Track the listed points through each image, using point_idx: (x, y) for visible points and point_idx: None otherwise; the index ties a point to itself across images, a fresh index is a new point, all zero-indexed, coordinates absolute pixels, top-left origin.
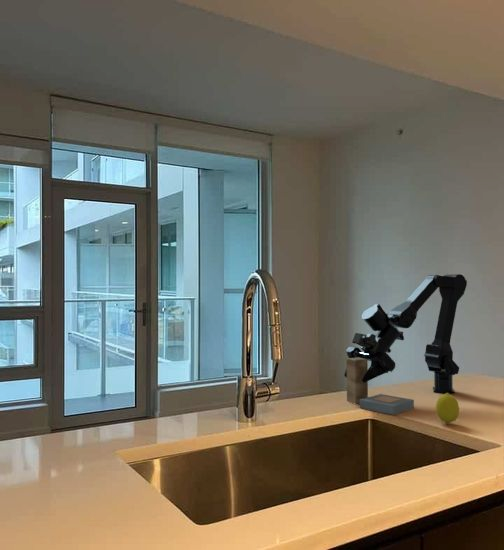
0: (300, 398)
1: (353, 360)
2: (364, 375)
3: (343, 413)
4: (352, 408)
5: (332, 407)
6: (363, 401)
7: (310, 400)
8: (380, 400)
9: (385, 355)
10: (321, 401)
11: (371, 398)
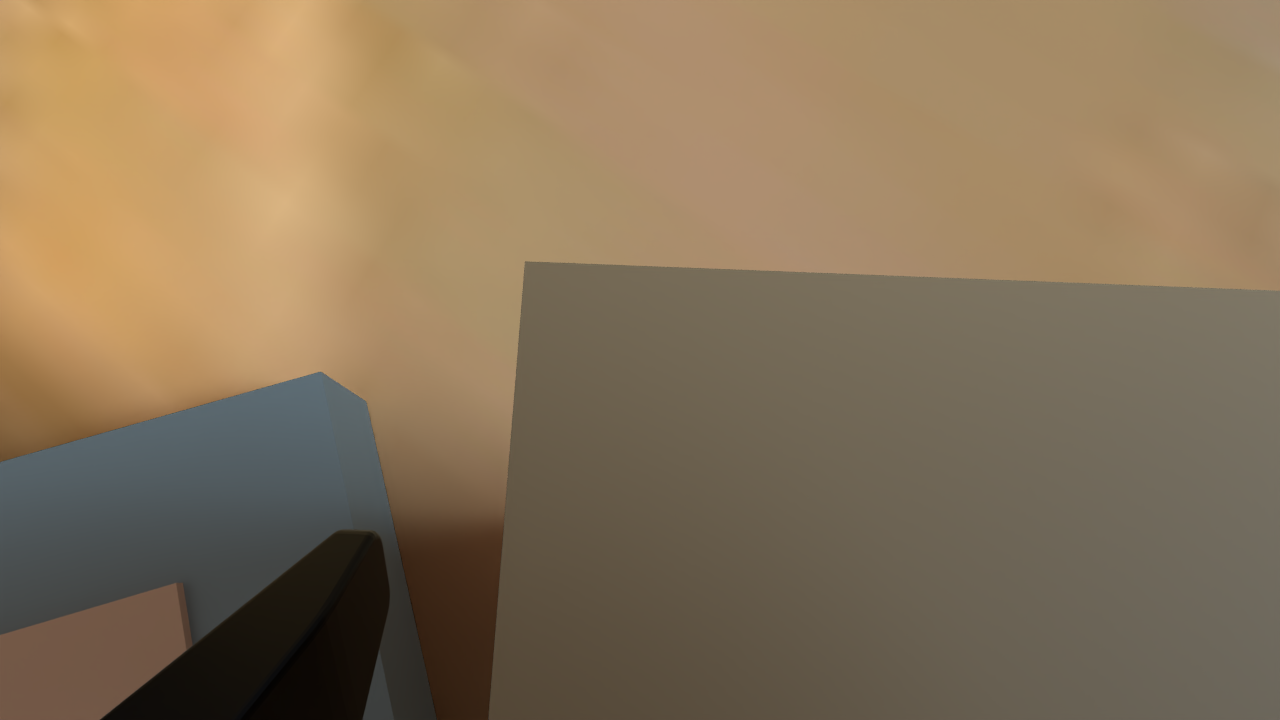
0: (1246, 8)
1: (752, 291)
2: (298, 635)
3: (261, 44)
4: (403, 295)
5: (590, 97)
6: (250, 399)
7: (1080, 61)
8: (4, 632)
9: None
10: (965, 156)
11: None
